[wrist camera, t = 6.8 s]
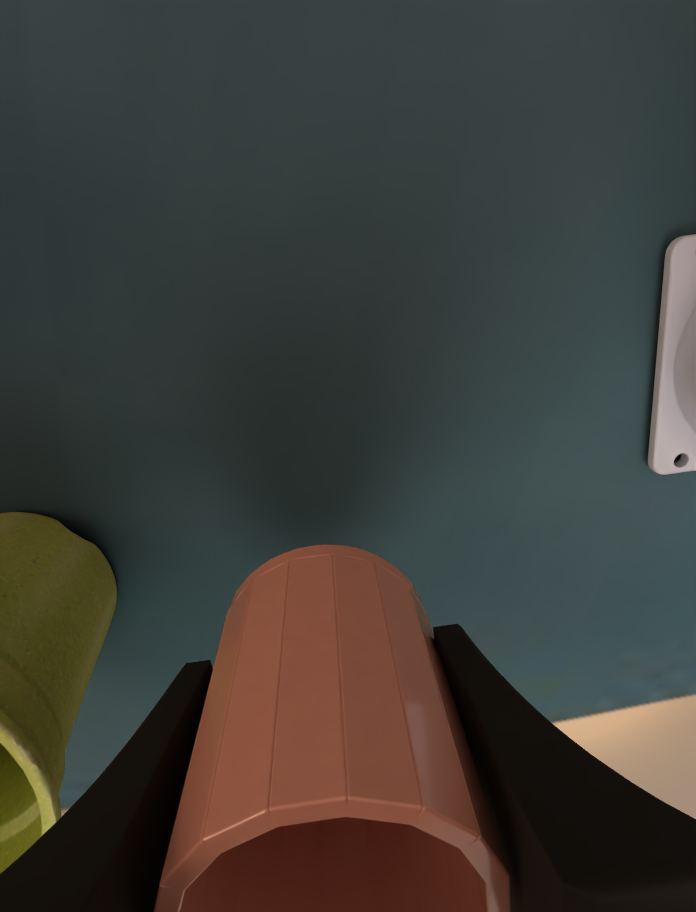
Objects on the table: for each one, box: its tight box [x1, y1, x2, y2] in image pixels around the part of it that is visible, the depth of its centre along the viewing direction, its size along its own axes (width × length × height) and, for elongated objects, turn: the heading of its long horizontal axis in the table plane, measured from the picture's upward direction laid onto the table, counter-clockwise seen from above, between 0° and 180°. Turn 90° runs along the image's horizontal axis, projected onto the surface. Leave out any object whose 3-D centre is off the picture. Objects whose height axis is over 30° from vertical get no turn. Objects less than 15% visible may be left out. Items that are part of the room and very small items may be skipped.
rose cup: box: [153, 544, 511, 912], centre depth 11 cm, size 6×6×7 cm
